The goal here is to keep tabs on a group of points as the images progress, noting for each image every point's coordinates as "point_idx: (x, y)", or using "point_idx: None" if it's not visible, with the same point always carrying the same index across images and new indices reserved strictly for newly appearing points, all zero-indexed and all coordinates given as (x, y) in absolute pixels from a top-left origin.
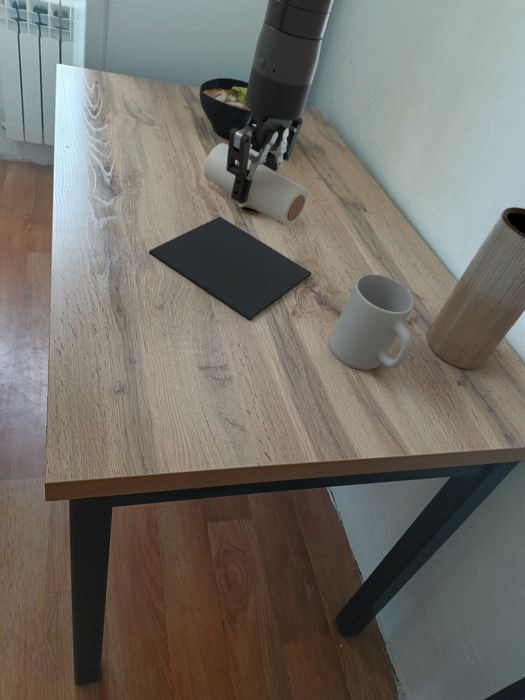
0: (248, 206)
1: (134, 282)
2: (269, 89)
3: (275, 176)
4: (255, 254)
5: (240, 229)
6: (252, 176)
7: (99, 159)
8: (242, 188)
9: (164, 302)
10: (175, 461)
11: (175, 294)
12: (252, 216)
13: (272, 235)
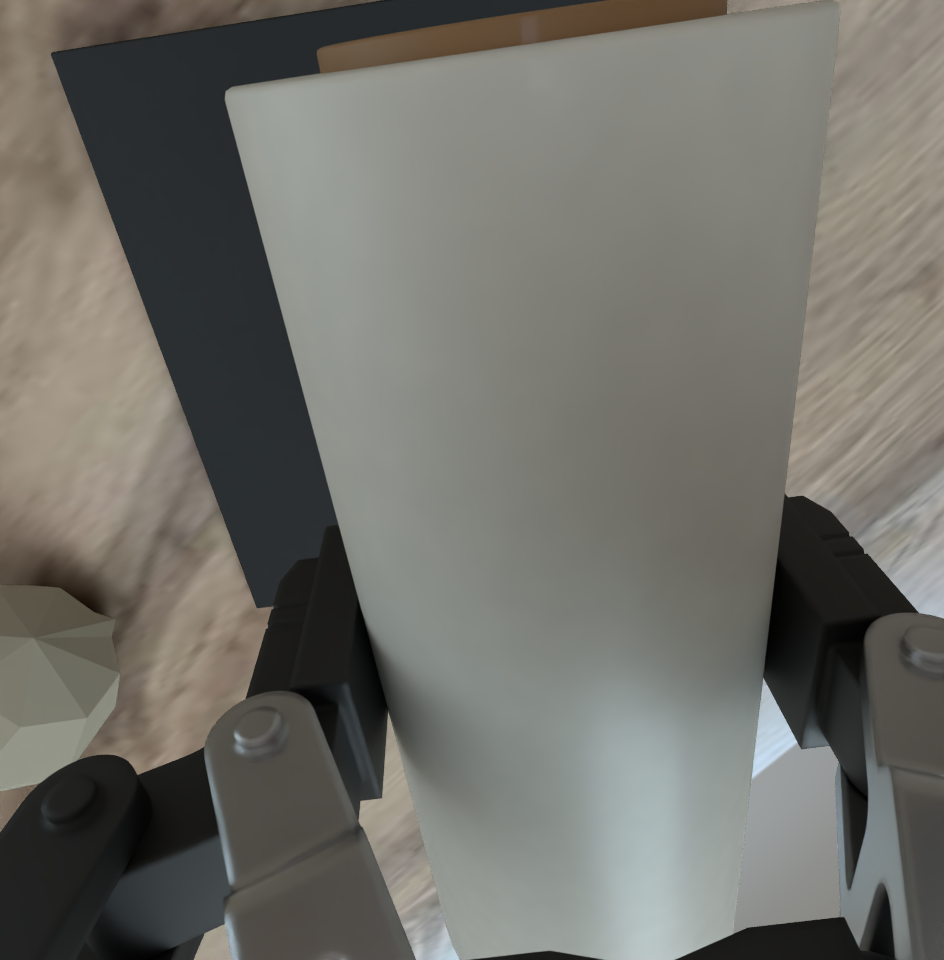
0: (87, 611)
1: (866, 441)
2: None
3: (639, 546)
4: (284, 344)
5: (225, 512)
6: (913, 641)
7: (444, 921)
8: (873, 570)
9: (886, 295)
10: None
11: (809, 312)
12: (84, 563)
13: (70, 425)
